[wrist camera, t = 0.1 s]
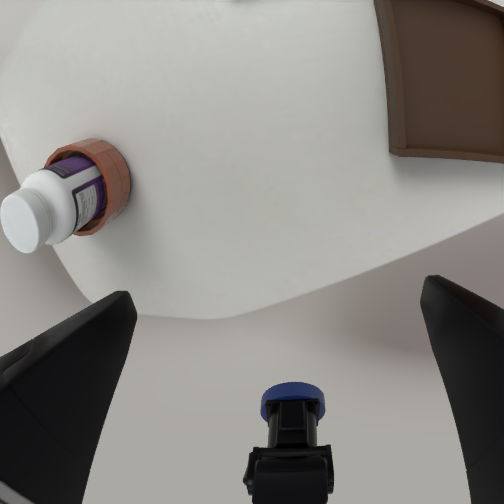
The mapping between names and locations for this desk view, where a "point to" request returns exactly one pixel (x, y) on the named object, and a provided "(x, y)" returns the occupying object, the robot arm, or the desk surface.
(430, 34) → the tray
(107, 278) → the desk surface
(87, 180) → the pill bottle
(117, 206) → the bowl
